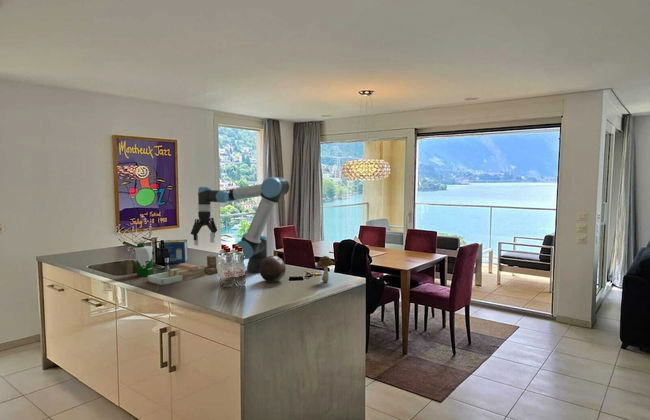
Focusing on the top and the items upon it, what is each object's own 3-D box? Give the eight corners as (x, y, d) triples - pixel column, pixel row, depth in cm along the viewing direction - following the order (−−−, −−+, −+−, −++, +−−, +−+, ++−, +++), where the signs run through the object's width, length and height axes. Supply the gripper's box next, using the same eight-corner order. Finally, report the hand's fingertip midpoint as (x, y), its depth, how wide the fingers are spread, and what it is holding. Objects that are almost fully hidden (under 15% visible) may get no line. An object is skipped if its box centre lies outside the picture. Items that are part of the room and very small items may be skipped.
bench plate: (204, 275, 258) (204, 268, 258) (182, 280, 246) (181, 272, 246) (191, 272, 268) (190, 265, 268) (168, 277, 256) (168, 269, 256)
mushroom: (338, 280, 240) (337, 255, 239) (326, 285, 231) (325, 258, 230) (325, 278, 246) (325, 253, 245) (313, 282, 237) (312, 256, 236)
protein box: (166, 260, 310) (165, 240, 308) (188, 260, 311) (187, 239, 310) (162, 263, 299) (161, 242, 298) (185, 262, 301) (184, 241, 300)
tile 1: (198, 269, 255) (198, 265, 255) (191, 270, 251) (191, 267, 251) (194, 268, 258) (194, 265, 257) (187, 269, 254) (187, 266, 254)
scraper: (221, 272, 267) (221, 257, 266) (212, 274, 262) (211, 258, 261) (207, 269, 278) (206, 254, 277) (197, 271, 272) (196, 256, 271)
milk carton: (143, 273, 268) (141, 242, 267) (155, 273, 267) (154, 242, 265) (134, 276, 260) (132, 244, 258) (147, 277, 258) (145, 245, 256)
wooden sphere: (281, 285, 232) (280, 258, 231) (256, 284, 235) (255, 258, 234) (288, 278, 247) (288, 253, 246) (264, 278, 250) (263, 253, 249)
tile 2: (193, 268, 258) (193, 264, 258) (187, 269, 255) (186, 266, 255) (189, 267, 261) (189, 264, 261) (183, 268, 258) (183, 265, 257)
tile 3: (188, 267, 261) (188, 263, 261) (182, 268, 258) (182, 265, 258) (185, 266, 264) (184, 263, 264) (178, 267, 261) (178, 264, 261)
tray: (182, 281, 246) (182, 275, 246) (161, 285, 236) (161, 279, 236) (168, 277, 256) (168, 271, 256) (147, 281, 247) (147, 275, 246)
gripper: (214, 209, 278) (214, 240, 280) (184, 211, 256) (184, 245, 258) (222, 210, 274) (222, 241, 276) (193, 212, 253) (193, 247, 255)
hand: (204, 243), depth 267 cm, fingers open, 13 cm apart
